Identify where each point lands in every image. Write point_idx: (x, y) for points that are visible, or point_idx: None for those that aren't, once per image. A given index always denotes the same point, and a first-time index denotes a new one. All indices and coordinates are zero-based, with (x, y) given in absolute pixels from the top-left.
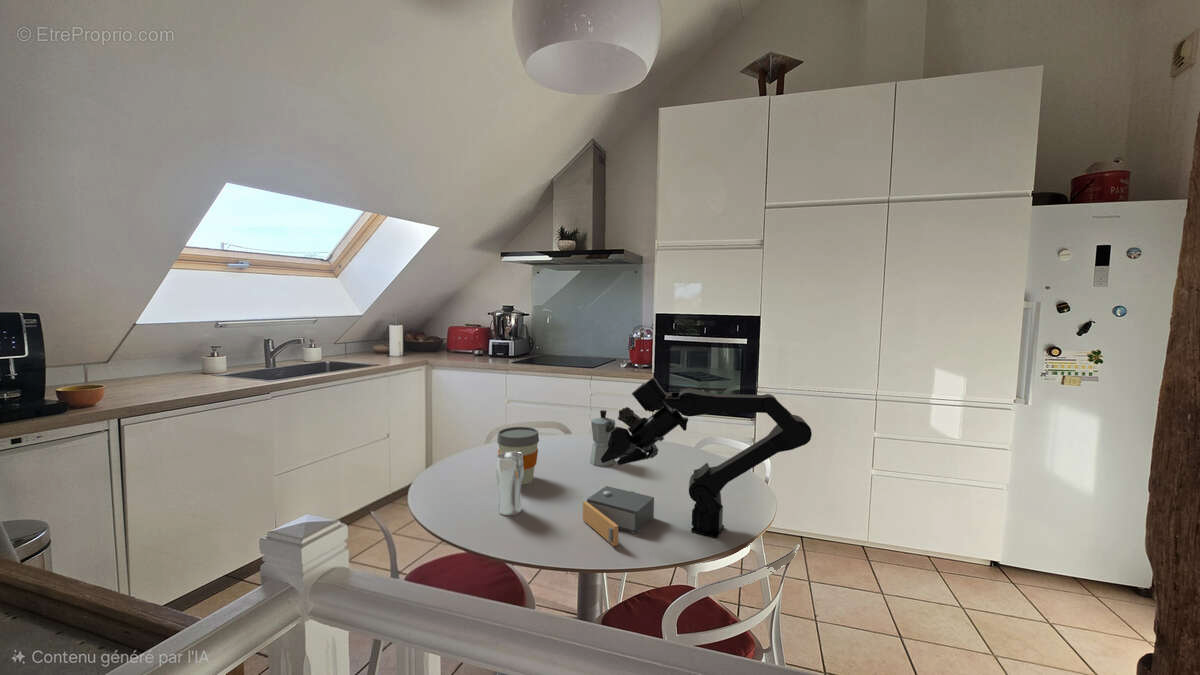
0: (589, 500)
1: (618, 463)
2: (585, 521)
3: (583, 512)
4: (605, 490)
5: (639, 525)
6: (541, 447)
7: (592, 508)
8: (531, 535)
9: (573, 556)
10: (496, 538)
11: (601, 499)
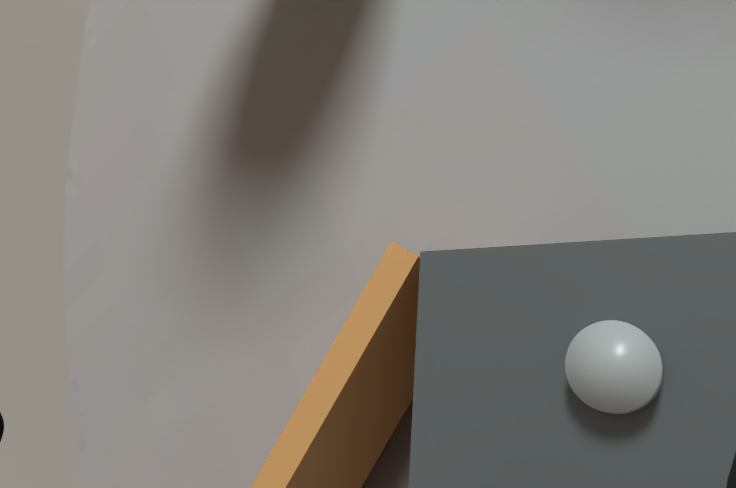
0: (424, 278)
1: (731, 477)
2: None
3: None
4: (718, 292)
5: None
6: None
7: (321, 379)
8: (205, 149)
9: (117, 454)
10: (140, 53)
11: (474, 375)
